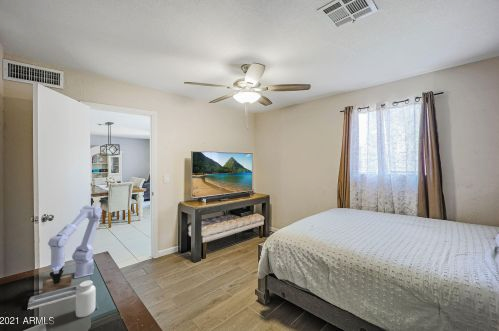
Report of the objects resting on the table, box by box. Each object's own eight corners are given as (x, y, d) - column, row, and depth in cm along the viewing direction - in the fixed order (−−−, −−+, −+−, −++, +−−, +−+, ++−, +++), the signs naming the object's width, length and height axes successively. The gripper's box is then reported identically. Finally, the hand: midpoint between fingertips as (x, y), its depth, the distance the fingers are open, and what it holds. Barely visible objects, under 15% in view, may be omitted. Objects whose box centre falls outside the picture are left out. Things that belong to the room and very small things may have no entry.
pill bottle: (82, 306, 110) (83, 278, 109) (98, 306, 110) (99, 278, 110) (71, 318, 102) (71, 288, 101) (88, 317, 103) (89, 288, 102)
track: (79, 287, 123) (79, 283, 123) (79, 295, 117) (79, 290, 117) (31, 300, 111) (31, 295, 111) (27, 310, 105) (27, 304, 105)
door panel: (71, 285, 125) (71, 274, 125) (71, 287, 123) (71, 276, 123) (43, 292, 118) (43, 280, 117) (42, 295, 116) (42, 283, 115)
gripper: (50, 253, 123) (49, 275, 123) (46, 264, 111) (45, 289, 112) (66, 250, 127) (65, 272, 128) (63, 261, 115) (63, 284, 116)
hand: (57, 279), depth 120 cm, fingers open, 7 cm apart
